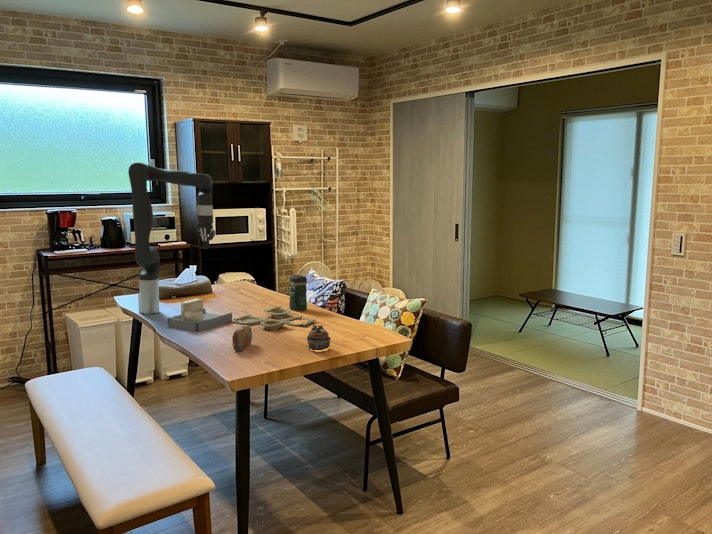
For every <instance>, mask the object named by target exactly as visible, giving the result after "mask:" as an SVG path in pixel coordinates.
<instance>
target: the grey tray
mask: <svg viewBox="0 0 712 534" xmlns="http://www.w3.org/2000/svg"><path fill="white" fill-rule="evenodd" d="M232 321H233V312H228V313H225V314H216V313H210V312H206V308H203V321H200V322H191V321H185V320H182V319H181V314H177V315H174V316H171V317H170V316H169V317H167V327H168V326H170V327H169V328H173V327H174V328H175V329H178V328H180V330H184V329H185V331H190V332H195V333H198V332H201V331H204V329H205V330H208V329H210V327H211V328H214V327H218V326H220V324H221V325H223V323H224V324H227V323H230V322H232ZM207 328H208V329H207Z"/></svg>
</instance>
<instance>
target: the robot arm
mask: <svg viewBox="0 0 712 534" xmlns="http://www.w3.org/2000/svg"><path fill="white" fill-rule="evenodd" d="M128 179H129V184H130V188H131V202H132V203H131V204H132V217H133V218H132V219H133V228H134V241H135V242H134V243H135V244H134V245H135V246H134V259H135V262H136V264H137V265H138V266H140V267H142V269H141V271H140V272H139V274H138V287H139V293H138V294H137V295H138V296H137V297H138V298H137V299H138V300H137V301H138V312H139V313H140V312H141V313H140V314H142V313H144V314H143V315H151V314H153V313H154V314H157V313H160V293H159V290H160V289H159V287H160V286H159V274H160V271H161V270H160V268H161V267H160V266H161V265H160V263H161V262H160V261H161V260H160V259H161V257H160V253H159V251H158V249H157V248H155V247H153V246H150V236H151V232H152V227H153V224H154V212H153V205H152V202H151V200H150V197H149V194H148V188H147V185H148V183H147V182H148V181H149V182H150V181H153V182H155V181H156V182H164V183H169V184H173V185H180V186H185V187H194V188H198V191H199V193H198V194H197V224H198V226H197V227H198V228H197V229H195V230H194V232H195V234H196V236H197V237H198V239H199V240H201V241H202V248H203V249H205V250H206V249H209V248H210V242H211V241H212V240H213V239H214V237H215V236H216V234H217V232H218V231H217V230H215V229H214V225H213V223H214V209H213V191H214V190H213V187H214V180H213V178H212V176H211V175H209V174H208V173H207V174H205V173H194V172H190V171H184V170H179V169H177V170H176V169H168V168H167V169H165V168H158V167H155V166H152V165H149V164H147V163H144V162H133V163H131V164H130V166H129V167H128Z"/></svg>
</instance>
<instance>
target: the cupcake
mask: <svg viewBox="0 0 712 534" xmlns="http://www.w3.org/2000/svg"><path fill="white" fill-rule="evenodd" d="M331 339H332V338H331V337H330V336H329V332H328V331H327V330H326V329H325V328H324V326H323V325H314V324H313V326H312V327H311V328H310V331H309V332H308V334H307V337H306V341H307V344H308V349H309V348H310V349H312V350H323V349H326V348H328V347H329V348H330V345H331V344H330V343H331Z"/></svg>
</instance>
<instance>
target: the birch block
mask: <svg viewBox="0 0 712 534" xmlns="http://www.w3.org/2000/svg"><path fill="white" fill-rule="evenodd" d="M203 309H204V299H203V298H194V299H193V298H192V299H191V300H190V299H189V300H185V301H182V302H180V310H181V312H180V313H181V314H180V315H181V319H182V320H185V321H191V322H200V321H203Z"/></svg>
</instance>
